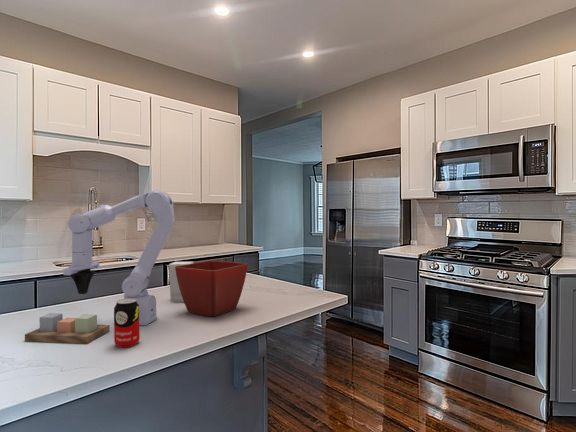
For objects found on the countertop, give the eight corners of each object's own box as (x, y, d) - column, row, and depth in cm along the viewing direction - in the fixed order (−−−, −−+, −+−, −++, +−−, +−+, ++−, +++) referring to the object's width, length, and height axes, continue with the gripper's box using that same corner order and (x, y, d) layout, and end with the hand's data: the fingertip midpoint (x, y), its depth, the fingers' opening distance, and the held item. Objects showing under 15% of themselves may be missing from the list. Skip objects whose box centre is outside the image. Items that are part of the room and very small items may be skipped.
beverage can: (111, 344, 98) (110, 300, 98) (134, 338, 102) (133, 296, 102) (119, 350, 94) (118, 305, 93) (143, 344, 98) (142, 300, 98)
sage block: (97, 329, 105) (96, 314, 105) (87, 334, 101) (87, 318, 101) (84, 328, 106) (84, 314, 106) (75, 333, 102) (74, 318, 102)
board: (109, 331, 108) (109, 325, 108) (87, 343, 98) (87, 336, 98) (52, 329, 110) (52, 323, 110) (24, 341, 100) (24, 334, 100)
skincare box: (195, 298, 148) (194, 261, 148) (189, 302, 141) (188, 263, 141) (175, 298, 149) (175, 261, 149) (169, 302, 142) (168, 263, 142)
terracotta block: (79, 332, 106) (79, 318, 106) (70, 337, 102) (69, 322, 102) (67, 332, 106) (67, 317, 106) (57, 337, 102) (57, 321, 102)
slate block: (62, 328, 107) (62, 313, 107) (52, 332, 103) (52, 317, 103) (50, 327, 107) (50, 313, 107) (39, 332, 103) (39, 317, 103)
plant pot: (211, 301, 143) (210, 259, 143) (249, 307, 134) (248, 263, 133) (173, 313, 127) (173, 266, 127) (214, 321, 117) (213, 270, 117)
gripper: (85, 249, 123) (86, 288, 123) (53, 254, 108) (54, 298, 109) (105, 249, 122) (105, 288, 122) (75, 254, 108) (75, 299, 108)
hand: (82, 293), depth 115 cm, fingers closed
